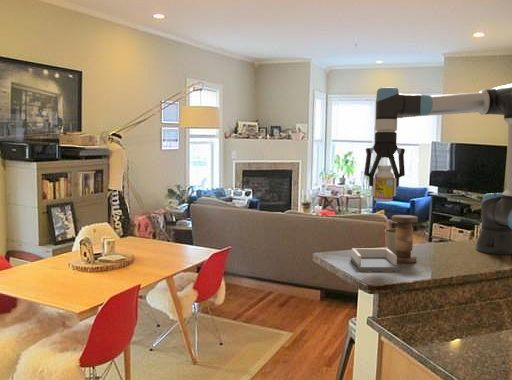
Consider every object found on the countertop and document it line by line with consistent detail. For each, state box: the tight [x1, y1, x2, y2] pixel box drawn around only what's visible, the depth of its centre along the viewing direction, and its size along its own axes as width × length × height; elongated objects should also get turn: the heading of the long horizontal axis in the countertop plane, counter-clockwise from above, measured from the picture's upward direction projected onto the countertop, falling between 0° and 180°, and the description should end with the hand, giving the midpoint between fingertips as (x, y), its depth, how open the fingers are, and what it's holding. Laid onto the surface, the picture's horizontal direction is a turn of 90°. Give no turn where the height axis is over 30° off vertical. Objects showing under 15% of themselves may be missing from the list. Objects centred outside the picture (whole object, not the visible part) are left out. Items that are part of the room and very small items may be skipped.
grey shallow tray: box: [350, 247, 401, 273], centre depth 167 cm, size 13×16×4 cm
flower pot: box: [384, 228, 397, 254], centre depth 188 cm, size 9×9×9 cm
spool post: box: [391, 214, 419, 264], centre depth 175 cm, size 9×9×16 cm
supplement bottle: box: [373, 164, 395, 203], centre depth 174 cm, size 7×7×13 cm
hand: (383, 195), depth 175 cm, fingers closed on supplement bottle, 7 cm apart
